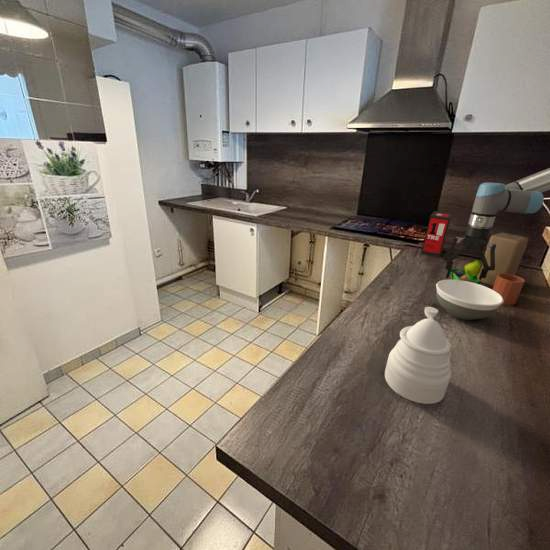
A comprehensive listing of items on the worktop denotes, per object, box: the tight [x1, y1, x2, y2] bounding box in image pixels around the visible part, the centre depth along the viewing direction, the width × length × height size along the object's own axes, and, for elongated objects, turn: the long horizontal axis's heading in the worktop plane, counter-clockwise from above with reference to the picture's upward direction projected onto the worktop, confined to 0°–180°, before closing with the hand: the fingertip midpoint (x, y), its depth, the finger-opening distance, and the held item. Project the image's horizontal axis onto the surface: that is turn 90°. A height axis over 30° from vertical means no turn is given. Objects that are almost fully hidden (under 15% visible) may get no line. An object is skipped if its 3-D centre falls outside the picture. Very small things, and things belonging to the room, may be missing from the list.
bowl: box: [435, 279, 503, 321], centre depth 95 cm, size 19×19×8 cm
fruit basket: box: [450, 259, 482, 284], centre depth 115 cm, size 11×9×11 cm
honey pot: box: [384, 306, 452, 405], centre depth 63 cm, size 13×13×18 cm
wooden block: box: [476, 232, 529, 287], centre depth 118 cm, size 10×10×20 cm
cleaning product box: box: [420, 210, 454, 258], centre depth 154 cm, size 16×9×20 cm, turn 147°
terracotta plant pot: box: [491, 273, 526, 306], centre depth 105 cm, size 8×8×9 cm
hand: (462, 281), depth 116 cm, fingers closed on fruit basket, 10 cm apart
